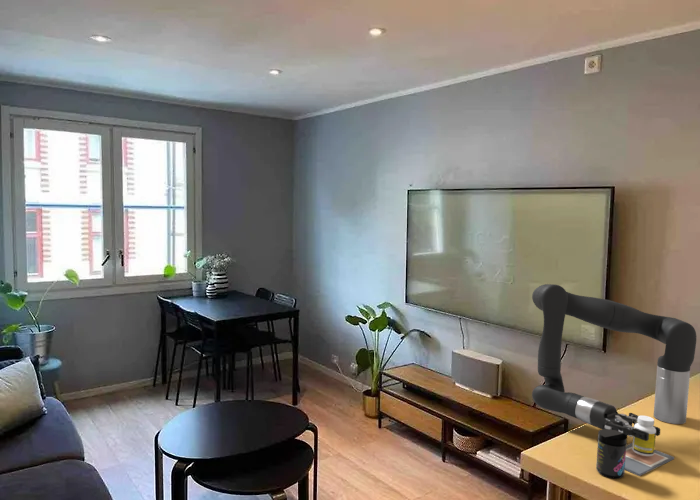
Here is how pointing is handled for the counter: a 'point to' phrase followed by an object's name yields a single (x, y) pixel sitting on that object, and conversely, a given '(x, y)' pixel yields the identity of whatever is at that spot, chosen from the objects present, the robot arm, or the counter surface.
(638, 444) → the supplement bottle
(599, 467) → the supplement container
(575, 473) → the counter surface
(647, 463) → the picture board
